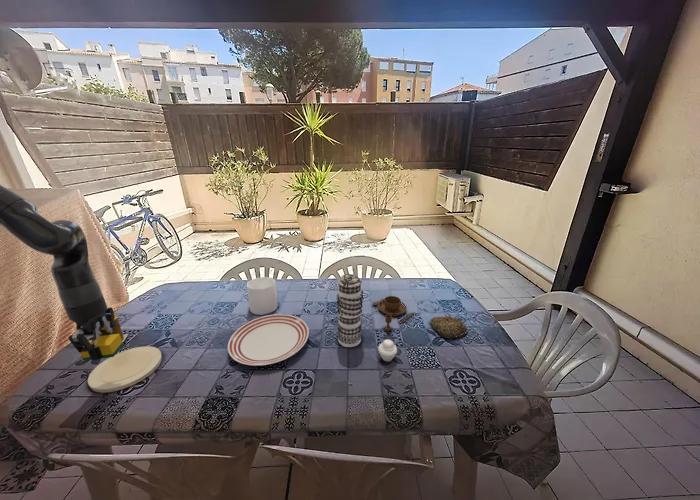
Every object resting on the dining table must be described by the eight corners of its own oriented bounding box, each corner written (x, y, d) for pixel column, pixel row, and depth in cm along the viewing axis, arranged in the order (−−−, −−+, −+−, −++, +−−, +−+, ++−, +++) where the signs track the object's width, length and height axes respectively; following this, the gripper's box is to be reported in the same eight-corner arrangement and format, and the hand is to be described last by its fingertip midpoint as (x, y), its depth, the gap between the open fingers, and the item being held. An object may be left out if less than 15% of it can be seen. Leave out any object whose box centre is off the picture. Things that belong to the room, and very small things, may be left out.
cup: (246, 305, 120) (243, 281, 116) (272, 298, 126) (270, 274, 122) (254, 318, 111) (250, 292, 107) (281, 309, 117) (279, 284, 113)
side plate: (72, 397, 75) (71, 394, 74) (111, 353, 91) (110, 350, 91) (146, 386, 78) (145, 383, 78) (170, 345, 95) (170, 342, 94)
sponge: (83, 361, 72) (78, 349, 71) (95, 348, 77) (90, 337, 76) (113, 356, 74) (109, 345, 73) (123, 344, 78) (119, 333, 77)
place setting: (417, 312, 115) (418, 300, 113) (389, 333, 102) (390, 319, 100) (384, 297, 127) (385, 286, 125) (355, 315, 113) (355, 302, 111)
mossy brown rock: (442, 341, 98) (443, 329, 96) (426, 321, 109) (427, 310, 107) (473, 336, 100) (476, 325, 98) (455, 317, 111) (457, 307, 110)
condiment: (128, 333, 101) (119, 305, 97) (119, 348, 93) (109, 318, 89) (104, 338, 99) (94, 309, 94) (93, 353, 91) (81, 323, 87)
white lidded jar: (398, 354, 91) (399, 337, 89) (394, 367, 86) (395, 349, 83) (380, 349, 93) (381, 332, 91) (375, 361, 88) (376, 344, 85)
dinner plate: (236, 385, 79) (234, 376, 77) (223, 334, 101) (222, 327, 100) (322, 352, 92) (321, 344, 91) (294, 313, 114) (293, 306, 113)
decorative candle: (367, 342, 97) (369, 279, 89) (345, 351, 92) (345, 285, 84) (353, 328, 104) (354, 269, 96) (332, 336, 100) (331, 275, 91)
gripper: (84, 287, 75) (104, 337, 81) (42, 315, 62) (69, 373, 68) (115, 284, 77) (132, 334, 83) (81, 311, 64) (103, 368, 70)
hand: (103, 351), depth 75 cm, fingers closed on sponge, 5 cm apart
